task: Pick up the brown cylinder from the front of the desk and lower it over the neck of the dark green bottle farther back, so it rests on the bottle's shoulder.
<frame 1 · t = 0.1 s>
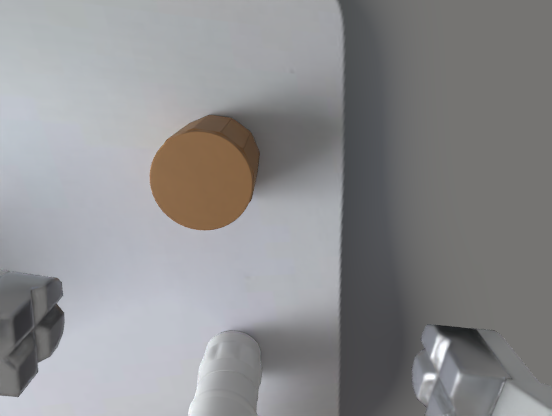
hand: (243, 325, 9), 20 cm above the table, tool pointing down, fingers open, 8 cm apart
binoculars: (237, 406, 36), on the table
brown cylinder: (217, 157, 28), on the table
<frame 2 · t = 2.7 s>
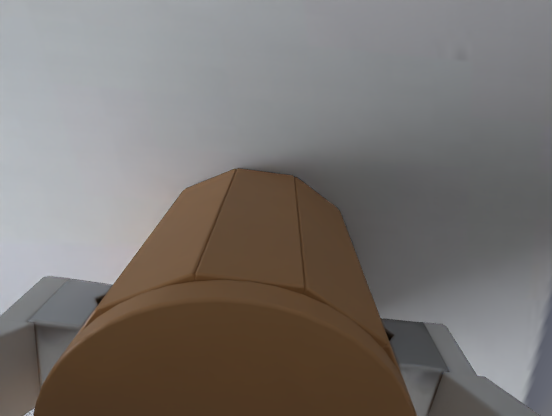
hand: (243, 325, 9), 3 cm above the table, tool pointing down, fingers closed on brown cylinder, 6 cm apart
brown cylinder: (253, 267, 12), on the table, touching gripper
when the fingers open (15 cm above the table, at t = 10.2 s): brown cylinder stays where it is, resting on bottle.
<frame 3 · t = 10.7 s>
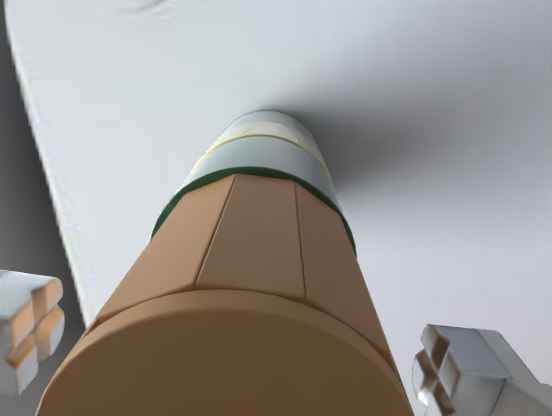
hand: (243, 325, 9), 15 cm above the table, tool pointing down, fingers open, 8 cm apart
bottle: (266, 164, 23), on the table
brown cylinder: (253, 271, 12), point 12 cm above the table, touching bottle
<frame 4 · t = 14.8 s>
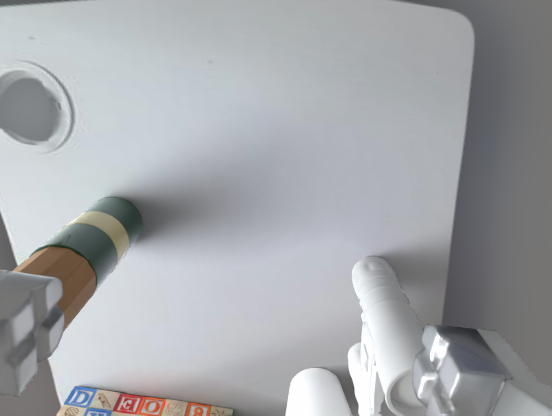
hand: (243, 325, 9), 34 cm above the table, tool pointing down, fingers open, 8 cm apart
bottle: (116, 222, 45), on the table
stack of blocks: (154, 412, 55), on the table
binoculars: (368, 315, 49), on the table
brown cylinder: (62, 277, 34), point 12 cm above the table, touching bottle
cup: (315, 385, 53), on the table
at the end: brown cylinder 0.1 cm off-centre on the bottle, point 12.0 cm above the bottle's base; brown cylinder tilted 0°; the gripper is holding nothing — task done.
